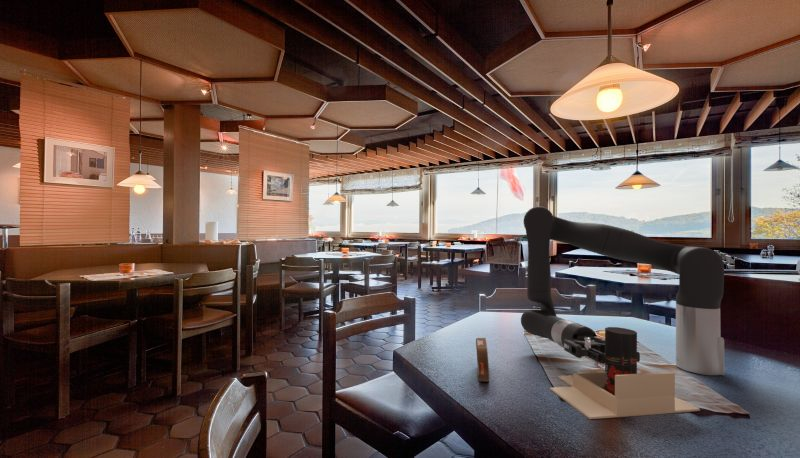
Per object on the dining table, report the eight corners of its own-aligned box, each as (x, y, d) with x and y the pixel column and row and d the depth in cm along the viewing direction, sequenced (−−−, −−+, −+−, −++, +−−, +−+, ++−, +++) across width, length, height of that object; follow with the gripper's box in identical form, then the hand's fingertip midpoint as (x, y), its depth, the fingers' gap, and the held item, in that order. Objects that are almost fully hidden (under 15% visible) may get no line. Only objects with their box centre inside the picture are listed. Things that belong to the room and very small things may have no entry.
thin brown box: (489, 388, 81) (490, 351, 81) (476, 386, 81) (476, 350, 82) (487, 364, 96) (487, 334, 96) (475, 363, 96) (475, 333, 96)
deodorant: (598, 393, 79) (599, 327, 79) (623, 393, 79) (623, 327, 79) (617, 406, 73) (617, 334, 73) (643, 405, 73) (643, 334, 74)
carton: (535, 378, 86) (536, 346, 87) (625, 374, 90) (625, 343, 91) (589, 419, 67) (589, 377, 68) (699, 410, 71) (699, 371, 72)
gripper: (548, 323, 91) (592, 342, 75) (597, 322, 93) (649, 340, 77) (548, 352, 91) (591, 377, 75) (597, 350, 93) (649, 374, 77)
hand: (621, 358), depth 76 cm, fingers open, 8 cm apart
